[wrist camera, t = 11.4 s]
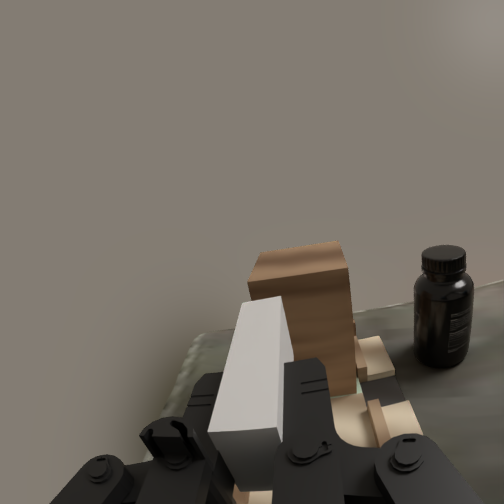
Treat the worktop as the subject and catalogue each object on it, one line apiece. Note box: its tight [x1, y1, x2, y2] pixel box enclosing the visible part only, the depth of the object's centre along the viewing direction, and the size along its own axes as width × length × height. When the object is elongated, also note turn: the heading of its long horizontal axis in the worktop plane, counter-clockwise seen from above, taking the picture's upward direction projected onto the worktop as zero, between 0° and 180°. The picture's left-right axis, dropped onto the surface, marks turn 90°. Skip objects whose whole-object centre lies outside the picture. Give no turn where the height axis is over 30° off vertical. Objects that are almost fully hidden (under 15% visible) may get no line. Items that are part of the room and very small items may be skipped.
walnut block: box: [248, 241, 357, 397], centre depth 30 cm, size 8×8×13 cm
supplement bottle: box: [413, 245, 474, 368], centre depth 29 cm, size 7×7×12 cm
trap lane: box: [233, 319, 423, 504], centre depth 25 cm, size 24×18×4 cm
